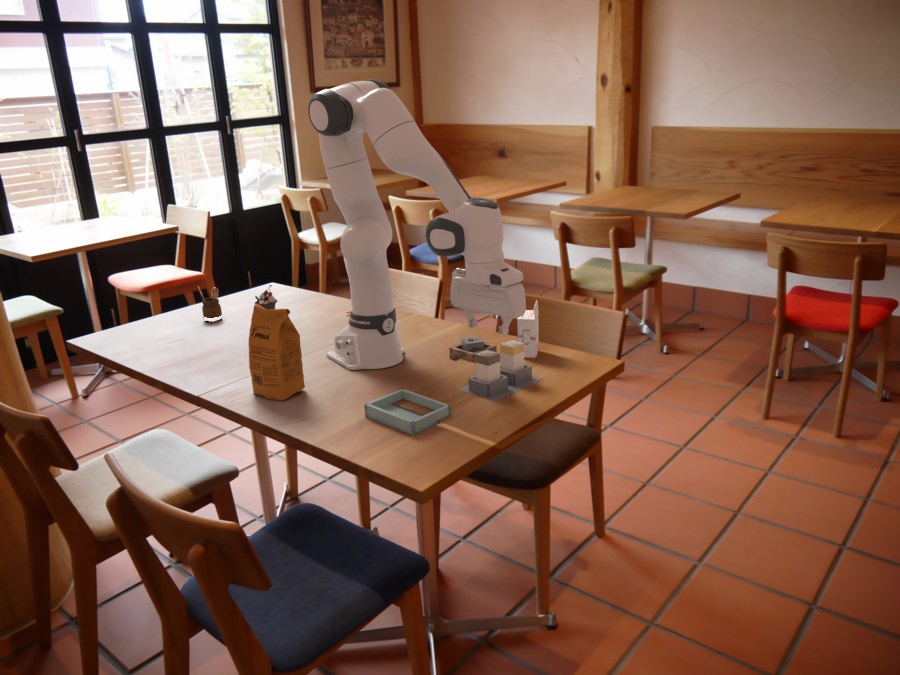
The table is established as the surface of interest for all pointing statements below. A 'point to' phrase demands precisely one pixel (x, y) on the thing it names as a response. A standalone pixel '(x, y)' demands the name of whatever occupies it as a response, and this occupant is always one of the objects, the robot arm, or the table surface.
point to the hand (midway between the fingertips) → (488, 330)
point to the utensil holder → (211, 306)
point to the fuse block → (501, 384)
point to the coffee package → (274, 354)
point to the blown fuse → (487, 366)
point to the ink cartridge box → (529, 332)
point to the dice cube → (472, 344)
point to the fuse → (512, 356)
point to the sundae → (266, 300)
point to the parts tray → (406, 412)
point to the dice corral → (458, 353)
